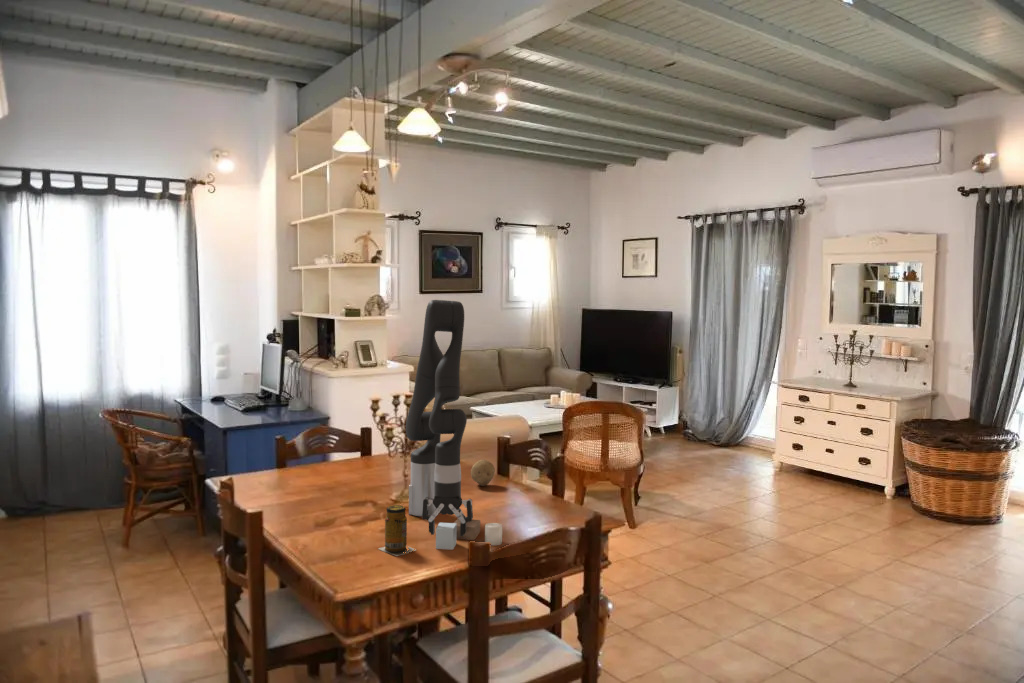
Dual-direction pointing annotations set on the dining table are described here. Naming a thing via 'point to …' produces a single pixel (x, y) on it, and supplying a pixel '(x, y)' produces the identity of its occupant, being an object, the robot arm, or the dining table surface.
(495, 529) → the cream cylinder
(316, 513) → the dining table surface
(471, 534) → the walnut block
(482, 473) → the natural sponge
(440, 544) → the pale grey block
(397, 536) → the condiment
